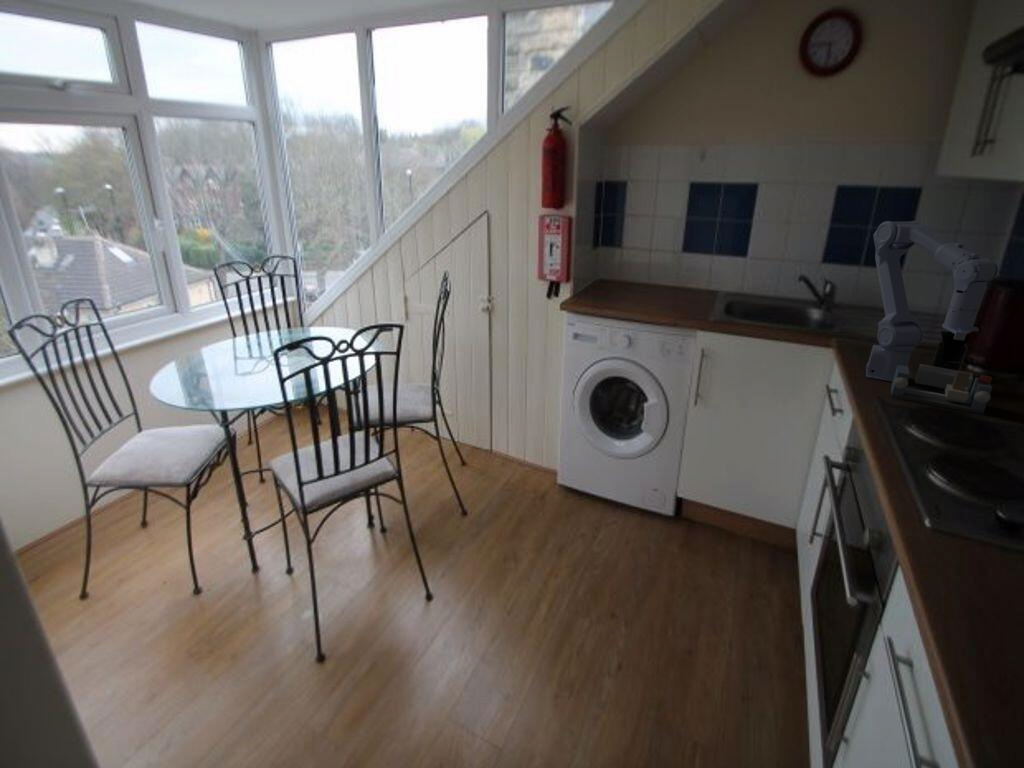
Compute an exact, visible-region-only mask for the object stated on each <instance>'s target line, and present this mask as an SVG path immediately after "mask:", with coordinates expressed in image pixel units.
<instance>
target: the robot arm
mask: <svg viewBox="0 0 1024 768" xmlns="http://www.w3.org/2000/svg"><path fill="white" fill-rule="evenodd" d="M872 237H873V241H874V247H875V255H874V256H875V257H874V258H875V265H876V271H877V275H878V281H879V288H880V292H881V298H882V304H883V310H884V315H885V316H884V317H883V318H882V319H881V320H880V321H879V322H878V323H877V327H878V331H877V337H876V338H877V341H878V343H879V345H878V344H873V346H872V347H871V352H870V355H869V358H868V362H867V363H866V365H865V377H866V378H870V379H875V380H881V381H888V382H891V383H892V382H893V379H894V375H895V372H896V369H897V365H901V366H908V365H909V362H910V358H911V355H912V351H914V350H915V349H916V347H917V346H919V345H920V344H921V343H922V342H923V340H924V336H925V332H924V329H923V327H922V326H921V325H920V323H919V319H918V317H917V316H915V315H914V314H913V313H911V312H910V310H909V305H908V299H907V294H906V289H905V282H904V277H903V271H902V266H901V262H900V261H901V260H900V259H901V257H902V256H903V255H905V254H906V253H907V252H908V251H910V249H911V248H913V247H914V246H915V245H916V246H918V247H920V248H922V249H923V250H926V251H927V252H929V253H931V254H933V255H934V261H935V262H936V263H937V264H938V265H940V266H941V267H943V268H944V269H946V270H948V271H949V272H950V273H952V275H953V279H954V283H953V287H954V291H953V293H952V297H951V300H950V302H949V303H950V304H949V307H948V309H947V313H946V316H945V319H944V322H943V323H942V325H941V326H942V327H941V328H943V329H944V331H943V330H941V331H940V334H941V338H942V340H941V341H943V347H942V361H948V362H953V360H954V359H955V357H956V356H957V354H958V352H959V351H960V349H961V348H962V347H963V346H964V345H967V343H969V341H970V340H971V337H970V333H972V332H979V331H980V330H979V328H978V327H977V326H974V324H975V322H976V319H977V316H978V313H979V310H980V307H981V304H982V301H983V298H984V294H985V291H986V289H987V286H988V283H990V282H992V281H993V280H994V279H996V276H997V275H998V273H999V265H998V264H997V263H996V261H994V259H993V258H990V257H989V258H988V257H985V258H981V257H980V256H979V254H978V253H977V252H971V251H970V250H969V249H966V248H965V245H964V244H963V243H962V242H948V243H947V242H946V241H944V240H943V239H941V238H939V236H938V235H936V234H934V233H933V232H931V230H929V229H927V225H925V224H922V223H921V222H919V221H917V220H912V221H911V220H910V221H891V220H886V221H883V222H881V223H880V224H879V226H878V227H877V228H876V230H875V232H874V233H873V236H872ZM945 330H947V331H945ZM908 367H909V366H908Z"/></svg>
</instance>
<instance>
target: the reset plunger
mask: <svg viewBox="0 0 1024 768" xmlns="http://www.w3.org/2000/svg"><path fill="white" fill-rule="evenodd" d="M978 378H979V379H978V381H980V382H983V383H990V384H991V383H992V380H993V377H992V376H989V375H986V374H985V375H984V374H981V375H979V377H978Z"/></svg>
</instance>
